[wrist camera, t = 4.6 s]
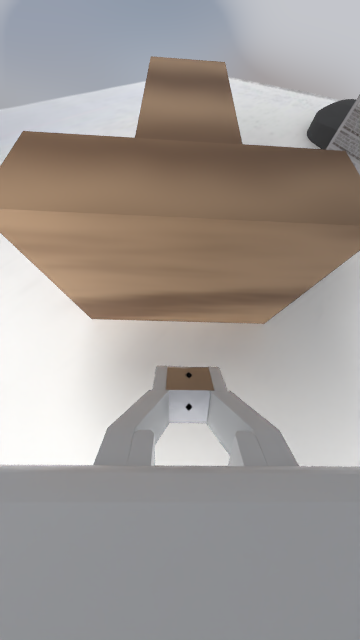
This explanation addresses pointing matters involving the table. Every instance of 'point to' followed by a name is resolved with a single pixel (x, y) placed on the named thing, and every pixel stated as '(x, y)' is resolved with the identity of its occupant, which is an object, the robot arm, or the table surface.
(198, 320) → the t block
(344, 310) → the table surface
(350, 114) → the coffee box
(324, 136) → the media streaming box
